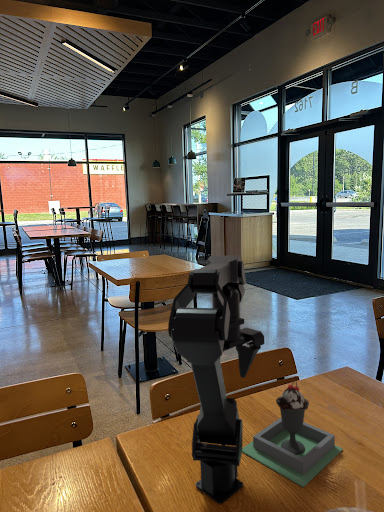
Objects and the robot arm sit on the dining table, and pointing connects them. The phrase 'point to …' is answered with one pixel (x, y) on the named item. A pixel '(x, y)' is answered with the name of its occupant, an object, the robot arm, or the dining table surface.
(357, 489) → the dining table surface
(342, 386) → the dining table surface
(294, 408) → the sundae
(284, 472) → the rimmed mat
